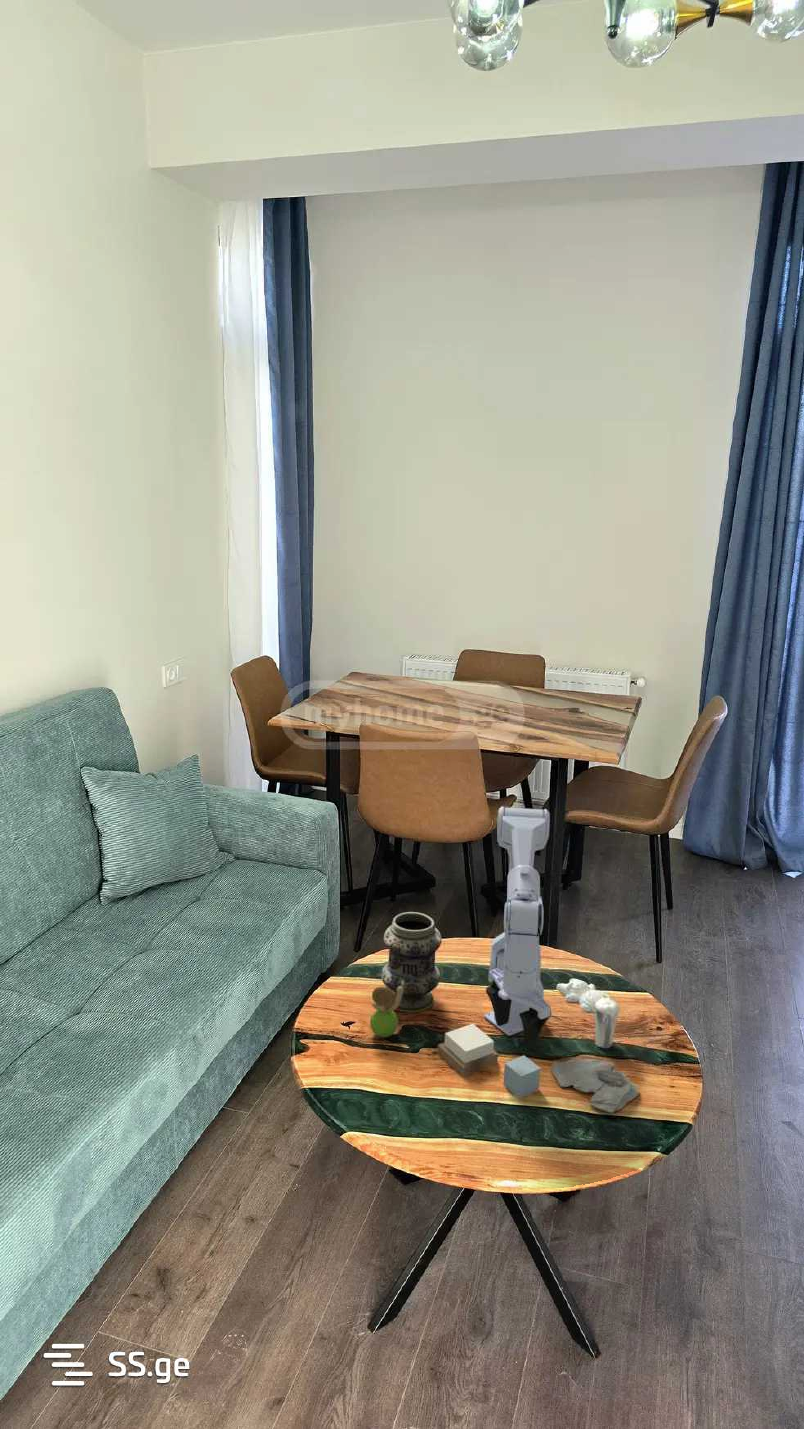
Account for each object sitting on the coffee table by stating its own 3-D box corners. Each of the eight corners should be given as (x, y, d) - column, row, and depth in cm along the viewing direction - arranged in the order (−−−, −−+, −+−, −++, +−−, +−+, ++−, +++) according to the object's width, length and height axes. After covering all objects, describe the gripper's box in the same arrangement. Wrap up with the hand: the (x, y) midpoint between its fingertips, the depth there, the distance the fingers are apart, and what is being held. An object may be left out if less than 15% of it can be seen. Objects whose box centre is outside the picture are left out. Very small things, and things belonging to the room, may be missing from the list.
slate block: (522, 1077, 174) (523, 1055, 172) (538, 1090, 170) (540, 1068, 169) (503, 1085, 171) (504, 1063, 170) (519, 1098, 167) (521, 1076, 166)
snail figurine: (399, 1045, 182) (401, 989, 179) (366, 1041, 183) (368, 985, 180) (405, 1029, 187) (407, 975, 184) (373, 1025, 188) (374, 970, 185)
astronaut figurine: (580, 980, 207) (581, 968, 206) (619, 1007, 197) (621, 994, 197) (549, 991, 203) (550, 978, 202) (588, 1019, 193) (589, 1005, 192)
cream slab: (472, 1035, 182) (472, 1023, 182) (493, 1053, 177) (493, 1041, 176) (444, 1045, 179) (445, 1033, 178) (464, 1063, 174) (465, 1051, 173)
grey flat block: (470, 1043, 184) (471, 1032, 183) (497, 1065, 178) (497, 1053, 177) (437, 1056, 180) (437, 1045, 179) (463, 1079, 173) (463, 1067, 173)
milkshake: (584, 1037, 186) (588, 991, 183) (611, 1036, 186) (615, 991, 184) (591, 1051, 182) (595, 1004, 179) (618, 1050, 182) (622, 1004, 179)
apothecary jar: (451, 999, 198) (454, 920, 193) (413, 1023, 189) (415, 941, 184) (407, 978, 205) (409, 902, 201) (368, 1000, 197) (370, 921, 192)
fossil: (650, 1091, 169) (649, 1079, 169) (609, 1123, 163) (609, 1110, 162) (577, 1053, 182) (576, 1042, 181) (537, 1080, 175) (536, 1069, 175)
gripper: (476, 953, 168) (472, 1021, 172) (530, 991, 157) (525, 1063, 160) (507, 943, 172) (503, 1010, 176) (562, 979, 160) (556, 1050, 164)
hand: (515, 1034), depth 168 cm, fingers open, 7 cm apart
